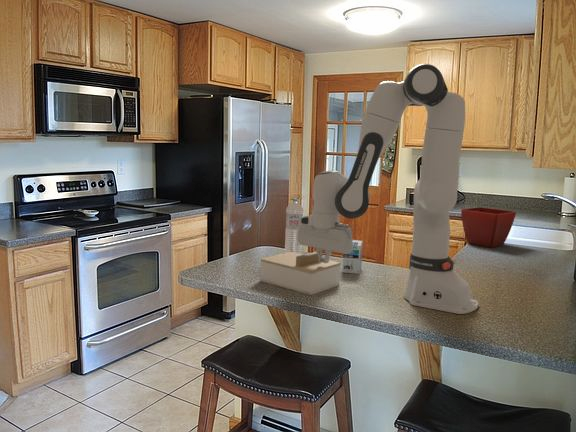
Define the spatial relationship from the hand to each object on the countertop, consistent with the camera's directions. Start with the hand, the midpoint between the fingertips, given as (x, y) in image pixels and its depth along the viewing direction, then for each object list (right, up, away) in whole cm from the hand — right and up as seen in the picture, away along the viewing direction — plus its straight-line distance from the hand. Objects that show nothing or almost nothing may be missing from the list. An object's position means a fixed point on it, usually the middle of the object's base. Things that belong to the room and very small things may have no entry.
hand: (323, 262), depth 164 cm
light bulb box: (+13, -6, +27) cm, 30 cm away
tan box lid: (-7, -1, +7) cm, 10 cm away
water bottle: (-10, -3, +41) cm, 42 cm away
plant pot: (+86, +1, +83) cm, 119 cm away
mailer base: (-8, -8, +8) cm, 13 cm away
